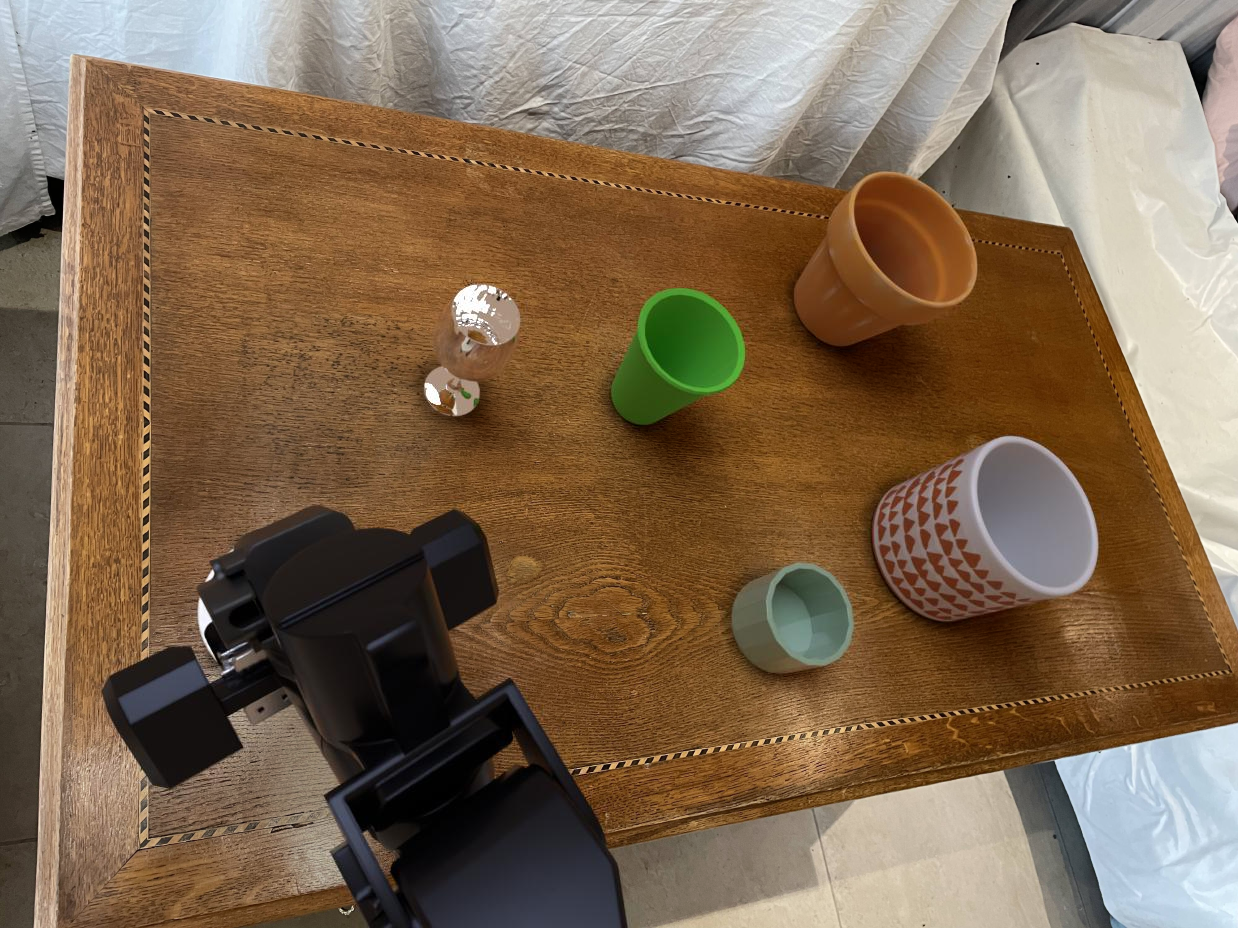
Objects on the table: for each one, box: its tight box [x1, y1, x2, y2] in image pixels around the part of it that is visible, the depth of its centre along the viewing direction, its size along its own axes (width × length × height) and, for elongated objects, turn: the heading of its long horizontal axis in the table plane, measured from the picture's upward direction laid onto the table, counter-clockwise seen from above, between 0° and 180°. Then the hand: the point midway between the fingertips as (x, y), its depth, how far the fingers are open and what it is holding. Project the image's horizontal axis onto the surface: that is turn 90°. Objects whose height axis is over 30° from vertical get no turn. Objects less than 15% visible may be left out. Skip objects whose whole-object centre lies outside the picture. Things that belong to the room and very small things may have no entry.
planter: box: [871, 435, 1099, 622], centre depth 70 cm, size 14×14×13 cm
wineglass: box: [423, 283, 521, 417], centre depth 57 cm, size 6×6×12 cm
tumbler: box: [730, 562, 855, 675], centre depth 64 cm, size 8×8×6 cm
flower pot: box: [793, 171, 978, 347], centre depth 76 cm, size 14×14×13 cm
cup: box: [610, 287, 746, 426], centre depth 64 cm, size 9×9×11 cm
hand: (274, 565), depth 46 cm, fingers closed on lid, 2 cm apart
